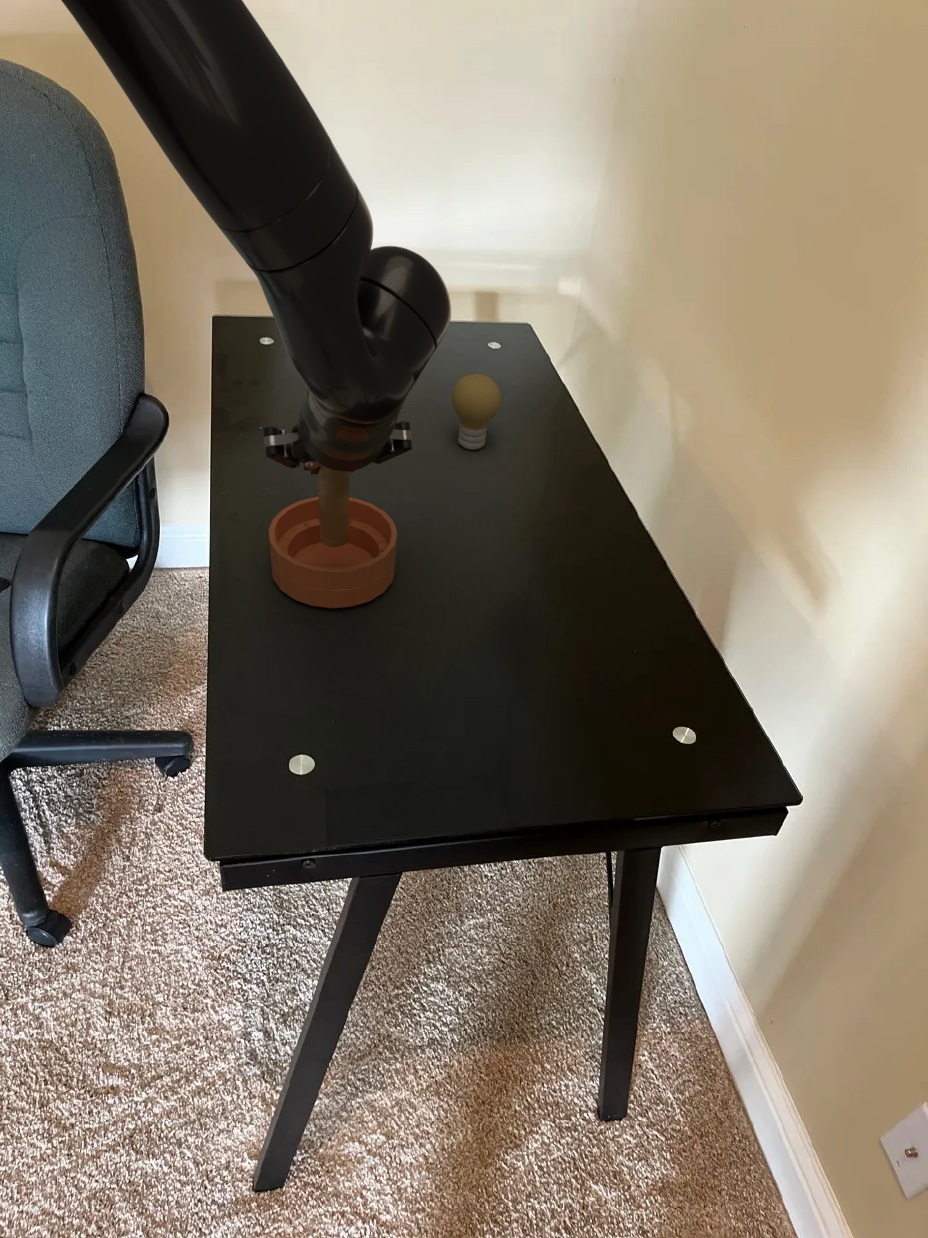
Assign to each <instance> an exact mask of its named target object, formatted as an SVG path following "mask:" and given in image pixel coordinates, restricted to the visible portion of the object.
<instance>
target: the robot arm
mask: <svg viewBox="0 0 928 1238" xmlns="http://www.w3.org/2000/svg"><path fill="white" fill-rule="evenodd" d="M60 1H61V2H62V3H63V5H64V6H65V7H66V9H67V10H68V11H69V13H70V14H71V16H72V17H73V18H74V20H75V21H76V23H77V25H78V26H79V27H80V29H81V31H82V32H83V33H84V35H86V37H87V39H88V40H89V42H90V43H91V44H92V46H93V47H94V49H95V50H96V52H97V53H98V55H99V57H100V58H101V59H102V61H103V62H104V63H105V66H107V68H108V70H109V71H110V73H111V74H112V76H113V77H114V79H115V80H116V82H117V84H118V85H119V86H120V88H121V90H122V91H123V92H124V94H125V95H126V97H127V99H128V100H129V102H130V103H131V105H132V107H133V108H134V109H135V111H136V112H137V114H138V116H139V117H140V118H141V120H142V123H144V125H145V127H146V128H147V129H148V131H149V132H150V134H151V135H152V137H153V138H154V140H155V141H156V143H157V144H158V146H159V147H160V149H161V150H162V152H163V154H164V155H165V156H166V158H167V159H168V161H169V162H170V164H171V166H173V168H174V169H175V171H176V172H177V173H178V175H179V177H180V178H181V179H182V181H183V182H184V184H185V185H186V186H187V187H188V189H189V191H190V192H191V193H192V194H193V196H194V197H195V199H196V200H197V201H198V203H199V204H200V205H201V207H202V208H203V209H204V211H205V212H206V214H207V215H208V216H209V217H210V219H211V220H212V221H213V222H214V224H215V226H217V227H218V229H219V230H220V231H221V232H222V233H223V235H224V237H226V238H227V240H228V241H229V243H230V244H231V246H232V247H233V248H234V249H235V250H236V252H237V253H238V254H239V256H240V257H241V258H242V259H243V261H244V262H245V264H246V265H247V266H248V267H249V269H250V270H251V271H252V272H253V274H254V275H255V276H256V278H257V280H258V283H259V285H260V287H261V289H262V292H263V295H264V297H265V300H266V303H267V305H268V307H269V309H270V311H271V314H272V316H273V319H274V321H275V324H276V326H277V329H278V331H279V333H280V336H281V339H282V341H283V344H284V347H285V349H286V352H287V354H288V356H289V359H290V362H291V363H292V366H293V368H294V369H295V371H296V374H297V375H298V377H299V379H300V380H301V382H302V384H303V385H304V386H305V387H304V391H303V394H302V400H301V407H300V410H299V411H300V412H299V418H298V423H297V424H295V425H293V426H292V428H291V432H288V433H287V429H279V428H278V427H276V426H267V427H264V428H263V439H264V440H263V441H264V448H265V456H266V457H267V458H268V459H270V460H272V461H274V462H276V463H278V464H280V465H282V466H284V467H286V468H290V469H296V468H298V467H300V466H301V464H302V466H303V471H310V475H312V476H313V475H318V471H319V469H320V466H325V467H327V468H329V469H332V470H336V471H349V474H350V473H354V472H355V471H358V470H362V469H363V468H365V467H368V466H369V465H371V464H372V463H373V464H376V465H380V464H382V463H385V462H387V461H389V460H392V459H394V458H397V457H398V456H401V455H403V454H405V453H408V452H410V451H412V450H413V443H412V442H413V441H412V433H411V423H410V422H409V421H405V420H402V421H400V422H398V420H399V419H398V418H399V415H400V412H401V411H402V409H403V407H404V404H405V402H406V399H407V397H408V395H409V394H410V393H411V390H412V389H413V388H414V386H415V384H416V382H417V381H418V379H419V378H420V376H421V374H422V373H423V372H424V369H425V368H426V366H427V364H428V363H429V361H430V359H431V358H432V356H433V355H434V353H435V352H436V350H437V349H438V347H439V346H440V343H441V342H442V340H443V339H444V337H445V336H446V334H447V331H448V330H449V327H450V323H451V318H452V302H451V297H450V293H449V291H448V288H447V286H446V282H445V281H444V279H443V278H442V276H441V273H439V271H438V269H436V267H435V266H434V265H433V264H432V263H431V262H430V261H428V259H427V258H425V257H424V256H422V255H421V254H419V253H417V252H416V251H413V250H411V249H408V248H406V247H403V246H398V245H382V246H377V247H374V248H372V246H373V241H374V222H373V218H372V214H371V211H370V209H369V206H368V204H367V201H366V200H365V198H364V196H363V194H362V191H361V190H360V189H359V187H358V185H357V183H356V181H355V180H354V178H353V176H352V175H351V172H350V171H349V169H348V168H347V165H346V164H345V162H344V160H343V159H342V157H341V155H340V153H339V152H338V150H337V147H336V146H335V144H334V142H333V140H332V139H331V137H330V135H329V133H328V131H327V130H326V128H325V126H324V124H323V123H322V121H321V119H320V117H319V116H318V114H317V113H316V111H315V109H314V107H313V106H312V105H311V103H310V101H309V99H308V98H307V96H306V95H305V93H304V91H303V90H302V88H301V86H300V85H299V84H298V81H297V80H296V79H295V77H294V75H293V74H292V72H291V71H290V68H288V66H287V65H286V63H285V62H284V60H283V59H282V57H281V56H280V54H279V52H278V51H277V49H276V48H275V46H274V45H273V44H272V42H271V40H270V39H269V38H268V35H266V33H265V32H264V30H263V29H262V27H261V25H260V24H259V23H258V21H257V20H256V18H255V17H254V15H253V14H252V12H251V11H250V10H249V8H248V7H247V5H246V3H245V2H244V0H60Z"/></svg>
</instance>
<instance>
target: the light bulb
mask: <svg viewBox="0 0 928 1238" xmlns="http://www.w3.org/2000/svg"><path fill="white" fill-rule="evenodd" d="M501 395H502V394H501V391H500V388H499V386H498V384H497V383H496V381H494V380H493V378H491V377H489V376H487V375H485V374H480V373H474V374H468V375H466V376H463V377H461V378H460V379H459V380H458V381H457V382H456V384H455V386H454V388H453V391H452V397H451V398H452V399H451V400H452V406H453V409H454V412H455V413H456V415H457V417H458V418H459V419H460V422H459V429H458V437H457V442H458V444H459V445H460V446H461V447H463V448H464V449H467V450H471V451H473V450H476V451H477V450H479V449H481V448H482V447H484V446H485V444H486V437H487V430H488V425H487V424H488V423H489V422H490V421H491V420H492V419H493V418H494V417H495V416H496V415H497V413H498V412H499V410H500V407H501V403H502V396H501Z"/></svg>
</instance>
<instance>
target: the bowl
mask: <svg viewBox="0 0 928 1238" xmlns="http://www.w3.org/2000/svg"><path fill="white" fill-rule="evenodd" d="M269 525H270V526H269V528H268V541H269V555H270V567H271V577H272V580H273V581H274V582H275V584H276V585H277V587H278V588H279V590H280V591H282V593H284V594H286V596H289V597H290V598H291V599H292V600H294V601H297V602H299V603H303V604H305V605H308V606H311V607H319V608H326V609H340V608H350V607H355V606H358V605H362V604H365V603H368V602H371V601H373V600H374V599H376V598H377V597H379V596H380V595H382V594H384V593H385V592H386V591H387V589H388V588H389V587H390V586H391V584H392V583H393V581H394V578H395V574H396V567H397V566H396V563H397V549H398V548H397V547H398V531H397V527H396V524H395V522H394V520H393V519H392V518H391V517H390V516H389V515H388V514H387V513H386V511H384V510H383V509H381V508H379V507H378V506H376V505H374V504H373V503H371V502H368V501H365V500H362V499H358V498H355V497H350V496H349V541H348V542H347V543H346V544H345V545H343V546H340V547H329V546H326V545H324V544H323V543H322V542H321V540H320V512H319V496H313V497H310V498H305V499H301V500H298V501H296V502H294V503H292V504H290V505H288V506H286V507H284V508H283V509H281V510H280V511H279V512H278V513H277V514H276V515H275V516H274V517H273V518H272V520H271V523H270V524H269Z"/></svg>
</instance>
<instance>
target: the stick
mask: <svg viewBox="0 0 928 1238" xmlns="http://www.w3.org/2000/svg"><path fill="white" fill-rule="evenodd" d="M317 475H318V497H319V512H320V540H321V542H322V543H323V544H324V545H326V546H329V547H340V546H343V545H345V544H346V543H347V542H348V541H349V497H350V473H349V471H336V470H332V469H329V468H327V467H325V466H320V469H319V471H318V474H317Z"/></svg>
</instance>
